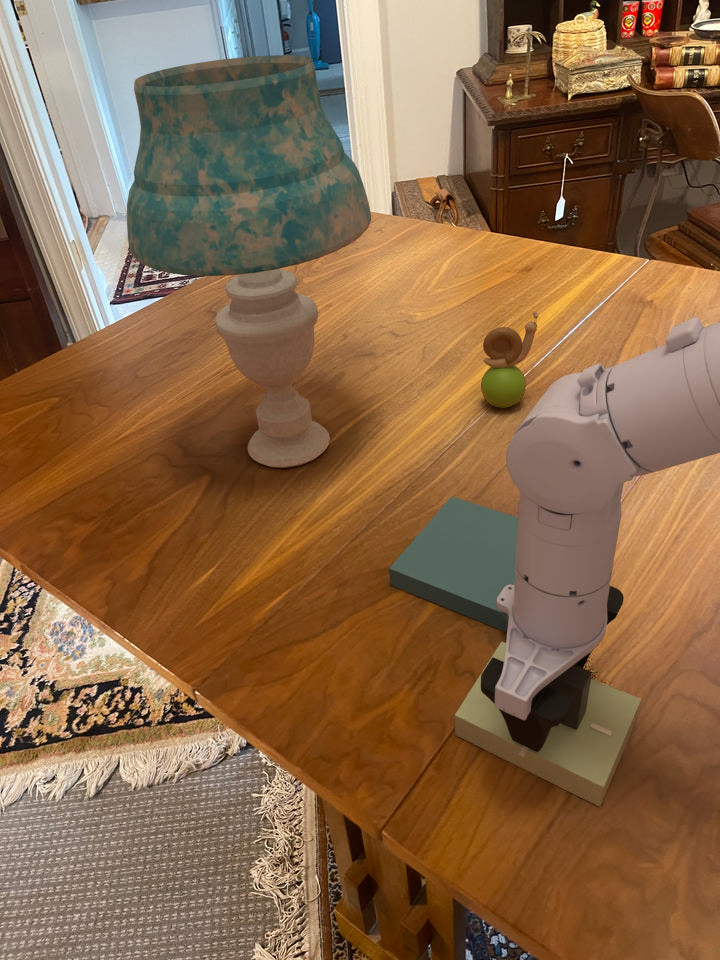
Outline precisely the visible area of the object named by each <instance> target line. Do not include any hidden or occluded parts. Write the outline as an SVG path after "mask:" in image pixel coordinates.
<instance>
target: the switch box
mask: <svg viewBox="0 0 720 960" xmlns="http://www.w3.org/2000/svg"><path fill="white" fill-rule="evenodd" d="M517 524H518V516H515V515H512V514H508V513H505V512H503V511H499V510H497V509H493V508H490V507H486V506H484V505H480V504H477V503H474V502H471V501H468V500H464V499H461V498H459V497H456V496H453V495H452V496H450V497H449V498H448V500H447V501H446V502H445V503H444V504H443V505H442V507H441V508H440V509H439V510H438V511H437V512H436V514H435V515H434V516H433V517H432V518H431V519H430V521H428V523H426V525H425V526H424V527H423V528H422V530H421V531H420V532H419V533H418V534H417V535H416V536H415V537H414V538H413V540H412V541H411V542H410V543H409V545H408V546H407V547H406V548H405V549H404V550H403V551H402V553H401V554H400V555H399V556H398V557H397V558H396V559H395V561H394V562H393V563H391V565H390V567H389V568H388V570H389V572H388V573H389V585H390V586H392V587H393V588H397V589H398V590H401V591H403V592H406V593H408V594H411V595H413V596H416V597H418V598H422V599H423V600H426V601H429V602H431V603H432V604H433V603H434V604H435V605H438V606H441V607H443V608H446V609H448V610H450V611H453V612H456V613H458V614H461V615H463V616H466V617H468V618H471V619H473V620H475V621H478V622H479V623H483V624H485V625H488V626H490V627H492V628H494V629H497V630H499V631H502V632H505V633H507V630H508V621H509V616H508V614H507V613H505V612H503V611H500V610H499V609H498V608H497V606H496V602H497V597H498V596H499V594H500V593H501V591H502V590H503V588H504V587H505V586H506V585H510V584H511V585H514V583H515V562H516V542H517Z"/></svg>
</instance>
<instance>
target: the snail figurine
mask: <svg viewBox="0 0 720 960" xmlns="http://www.w3.org/2000/svg"><path fill="white" fill-rule="evenodd" d="M532 315H533V318H534V319H535V320H534V321H531V320H530V321H528V322H526V324H525V326H524V330H525V333H524V336H523V339H522V337H521V335H520V334H519V333H518V332H517V331H516V330H515V329H513V328H511V327H506V326H501V327H500V326H499V327H495V328H494V329H492V330H490V331H489V332H488V333H487V334H486V336H485V337H484V339H483V343H482V349H483V352H484V353H485V355H486V356H487V357H488V358H486V357H485V358H483V359H482V361H483V362H484V364H485V365H487V366H488V369H487V370H486V371H485V372H484V374H483V376H482V378H481V382H480V390H481V394H482V396H483V398H484V399H485V401H486V402H487V403H489V404H490V405H491V406H494V407H497V408H501V409H503V408H510V407H513V406H514V405H516V404H517V403H519V402H520V401H521V399H522V398H523V397H524V395H525V392H526V389H527V381H526V380H527V379H526V376H525V375H524V372H523V371H522V370H521V369H520V368H519V367H517V366H516V365H518V364H520V363H522V362H523V361H524V360H525V359H526V358H527V356H528V354H529V353H530V351H531V349H532V345H533V343H534V342H533V341H534V339H535V334H536V332H537V330H538V323H537V319H538V318H539V314H538V311H536V310H534V311H533V312H532Z"/></svg>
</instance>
